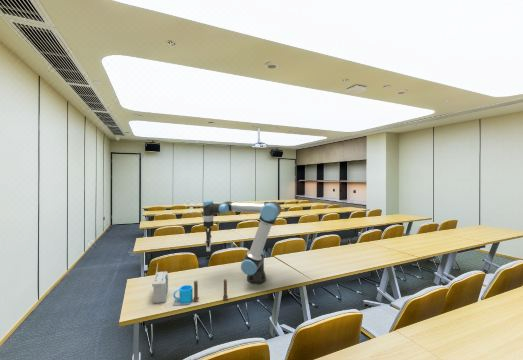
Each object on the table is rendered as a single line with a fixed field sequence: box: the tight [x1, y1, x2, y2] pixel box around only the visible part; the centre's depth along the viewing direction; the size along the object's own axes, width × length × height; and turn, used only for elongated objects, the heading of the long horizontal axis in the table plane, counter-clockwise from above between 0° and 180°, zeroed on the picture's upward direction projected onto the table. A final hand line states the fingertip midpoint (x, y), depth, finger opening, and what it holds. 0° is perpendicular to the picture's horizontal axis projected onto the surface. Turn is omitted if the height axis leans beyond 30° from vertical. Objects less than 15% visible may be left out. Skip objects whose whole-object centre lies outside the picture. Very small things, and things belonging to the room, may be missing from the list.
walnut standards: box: [192, 278, 229, 303], centre depth 163 cm, size 22×4×13 cm, turn 97°
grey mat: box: [172, 296, 191, 307], centre depth 161 cm, size 10×10×1 cm
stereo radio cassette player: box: [151, 262, 169, 304], centre depth 167 cm, size 21×8×20 cm, turn 17°
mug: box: [173, 284, 194, 304], centre depth 161 cm, size 12×8×8 cm
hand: (208, 248), depth 190 cm, fingers open, 13 cm apart
